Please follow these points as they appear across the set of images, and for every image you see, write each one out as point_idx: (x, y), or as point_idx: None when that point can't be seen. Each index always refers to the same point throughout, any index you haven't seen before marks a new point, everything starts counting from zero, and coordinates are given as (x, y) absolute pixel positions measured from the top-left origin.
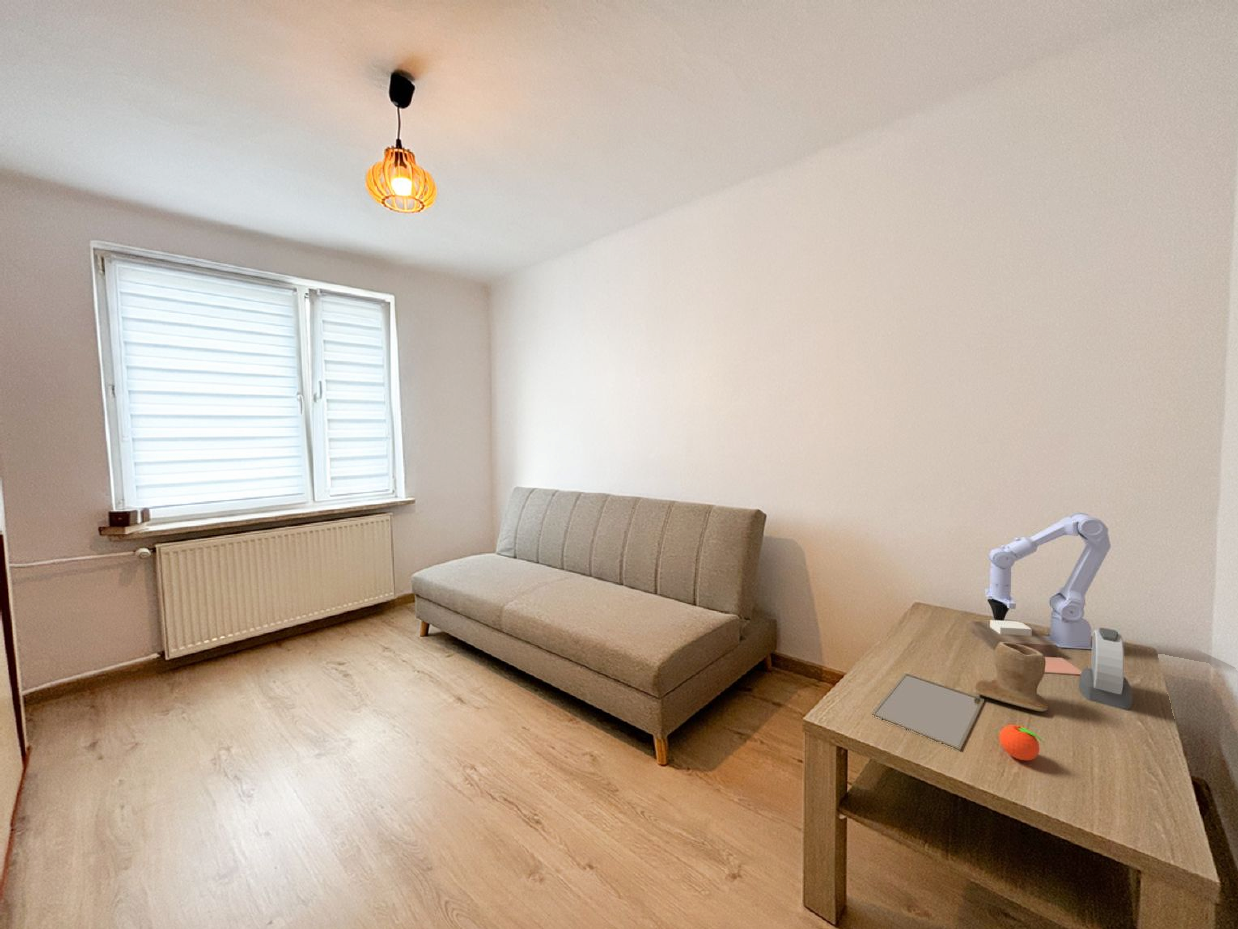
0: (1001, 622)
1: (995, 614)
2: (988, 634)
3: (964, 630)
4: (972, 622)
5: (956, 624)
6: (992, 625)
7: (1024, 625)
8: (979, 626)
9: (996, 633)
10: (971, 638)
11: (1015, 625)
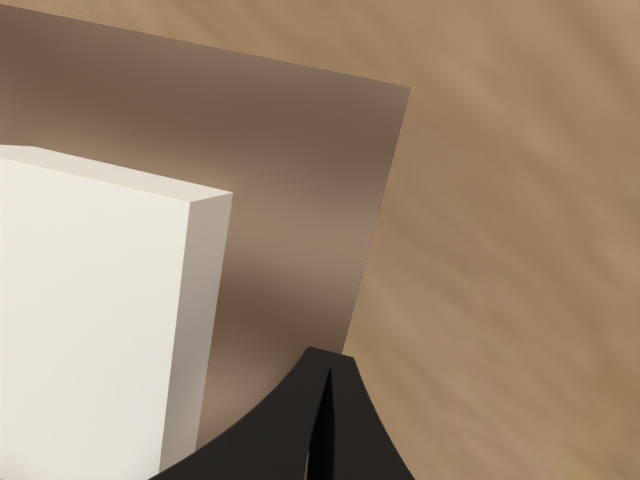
0: (110, 295)
1: (287, 391)
2: (38, 14)
3: (444, 65)
4: (406, 89)
5: (599, 85)
6: (160, 182)
7: (43, 476)
8: (244, 62)
9: (53, 122)
10: (267, 4)
11: (29, 385)
